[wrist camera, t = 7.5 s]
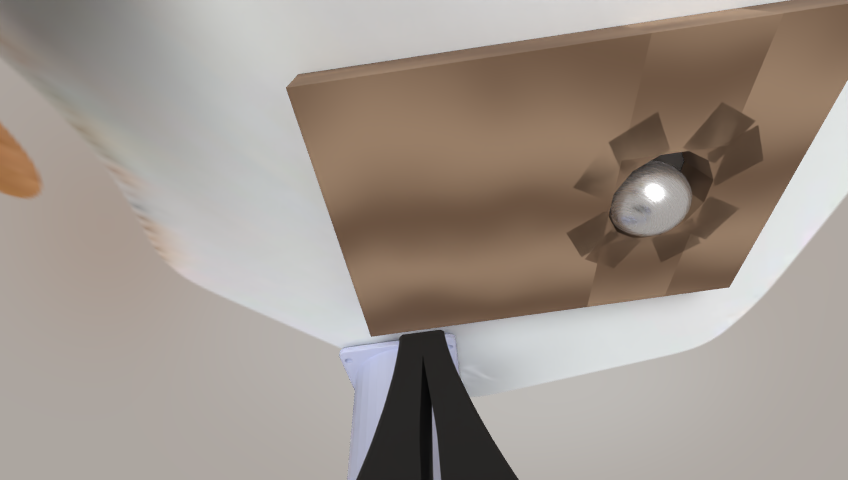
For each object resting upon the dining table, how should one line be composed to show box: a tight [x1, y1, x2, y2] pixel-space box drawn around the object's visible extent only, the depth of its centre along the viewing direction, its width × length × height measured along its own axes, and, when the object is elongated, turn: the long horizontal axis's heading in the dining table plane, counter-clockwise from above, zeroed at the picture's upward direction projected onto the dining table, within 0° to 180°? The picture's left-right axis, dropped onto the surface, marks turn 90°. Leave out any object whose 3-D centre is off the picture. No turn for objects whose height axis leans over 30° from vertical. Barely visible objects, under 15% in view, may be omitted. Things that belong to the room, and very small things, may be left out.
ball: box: [609, 161, 692, 236], centre depth 17 cm, size 4×4×4 cm
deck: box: [286, 0, 848, 337], centre depth 17 cm, size 14×21×2 cm, turn 97°
